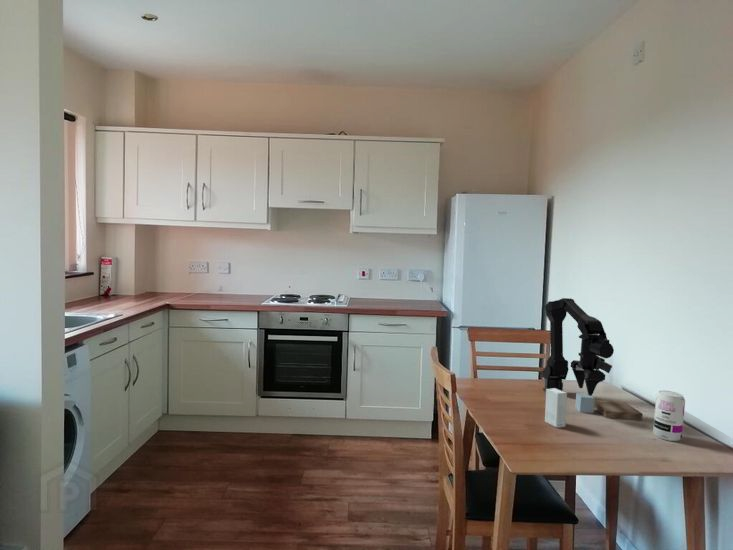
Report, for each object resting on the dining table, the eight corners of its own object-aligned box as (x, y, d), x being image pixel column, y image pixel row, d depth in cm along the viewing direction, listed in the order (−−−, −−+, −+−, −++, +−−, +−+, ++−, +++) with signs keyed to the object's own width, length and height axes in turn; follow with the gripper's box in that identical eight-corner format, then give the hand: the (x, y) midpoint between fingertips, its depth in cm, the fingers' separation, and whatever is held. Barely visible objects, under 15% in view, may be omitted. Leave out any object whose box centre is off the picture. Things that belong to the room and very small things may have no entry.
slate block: (579, 412, 180) (581, 397, 180) (575, 408, 185) (576, 393, 185) (593, 413, 180) (594, 398, 180) (588, 409, 185) (589, 394, 185)
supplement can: (677, 434, 162) (681, 392, 161) (684, 443, 154) (689, 399, 153) (650, 430, 165) (654, 388, 164) (656, 439, 157) (660, 395, 156)
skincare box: (566, 427, 164) (568, 392, 163) (555, 428, 162) (558, 393, 162) (553, 420, 170) (556, 387, 169) (543, 421, 168) (545, 388, 167)
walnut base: (605, 417, 176) (606, 411, 176) (591, 405, 189) (592, 399, 189) (641, 420, 175) (642, 413, 175) (625, 408, 188) (625, 402, 188)
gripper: (621, 359, 172) (617, 401, 173) (600, 348, 190) (596, 386, 191) (590, 357, 172) (586, 398, 173) (571, 346, 191) (568, 384, 192)
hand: (585, 391), depth 182 cm, fingers open, 9 cm apart
